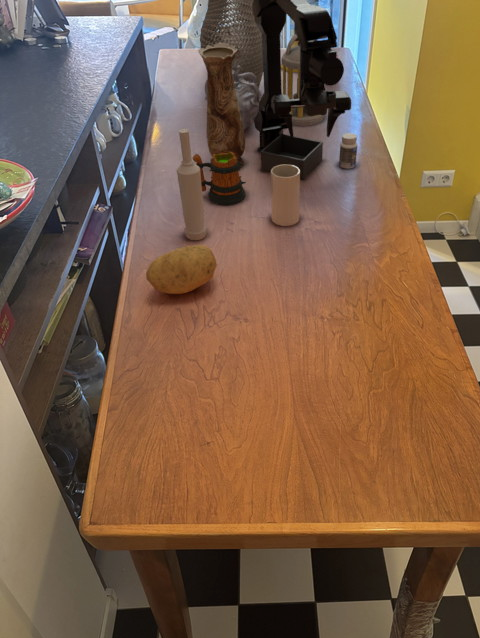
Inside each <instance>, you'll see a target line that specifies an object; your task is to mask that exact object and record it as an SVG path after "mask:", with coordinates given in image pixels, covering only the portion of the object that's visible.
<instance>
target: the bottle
mask: <svg viewBox="0 0 480 638" xmlns="http://www.w3.org/2000/svg"><path fill="white" fill-rule="evenodd" d="M178 135H179V143H180V149H181V159H182V160H181V162H180V165H179V166H177V168H176V175H177V181H178V190H179V194H180V195H179V196H180V201H181V208H182V215H183V222H184V228H183V230H184V234H185V237H186V238H187V239H188V240H191V241H200V240H202V239H204V238H205V237H206V236H207V226H206V223H205V213H204V211H205V210H204V199H203V191H202V185H201V173H200V167H199V166H197V165H196V162H195V161H194V160H193V159H192V158H193V157H192V151H191V142H190V141H191V140H190V131H189V129H188V128H181V129H179V130H178Z"/></svg>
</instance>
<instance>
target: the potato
mask: <svg viewBox="0 0 480 638" xmlns="http://www.w3.org/2000/svg"><path fill="white" fill-rule="evenodd" d="M217 266H218V264H217V259H216V257H215V255H214V252H213V250H212V249H211V247H209V246H206V245H204V244H194V245H193V244H192V245H187V246H183V247H178V248H176V249H173V250H171V251H169V252H166V253H163V254H162V255H160V256H158V257H156V258H155V259H154V260H153V261H152V262H150V264H149V266H148V268H147V270H146V273H145V275H146V280H147V281H148V282H149V284H150V285H151V286H152V288H153V289H154V290H155V291H158V292H160V293H164V294H169V295H181V294H187V293H189V292H192V291H194V290H196V289H198V288H199V287H201V286H203V285H204V284H206V283H208V282H209V281H210V280H211V279H213V277H214V273H215V271H216V268H217Z"/></svg>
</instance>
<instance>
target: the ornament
mask: <svg viewBox="0 0 480 638" xmlns="http://www.w3.org/2000/svg"><path fill="white" fill-rule="evenodd" d="M236 68H238V70H237V71H236V70H235V71H236V72H235V71H233V70H232V74H233V78H234V79H235V81H236V82H234V85H235V91H236V95H237V100H238V104H239V109H240V114H241V119H242V123H243V128H244V131H245V130H246V129H248V128H249V127H250V126H251V125H254V119H255V117H256V115H257V113H258V112H259V102H260V100H261V93H260V89H259V90H258V88H257V86H256V76H255V75H254V74H253V73H251V72H248V73H243V74H238V73H239V72H240V70H241V66H239V65H238V66H237V67H236ZM246 77H250V78H251V80H250V81H245V80H244V79H243V78H246ZM207 85H208V82H207V79H206V80H205V83H204V94H205V97H204V98H205V101H207ZM254 91H255V94H254V93H253V92H254Z"/></svg>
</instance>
